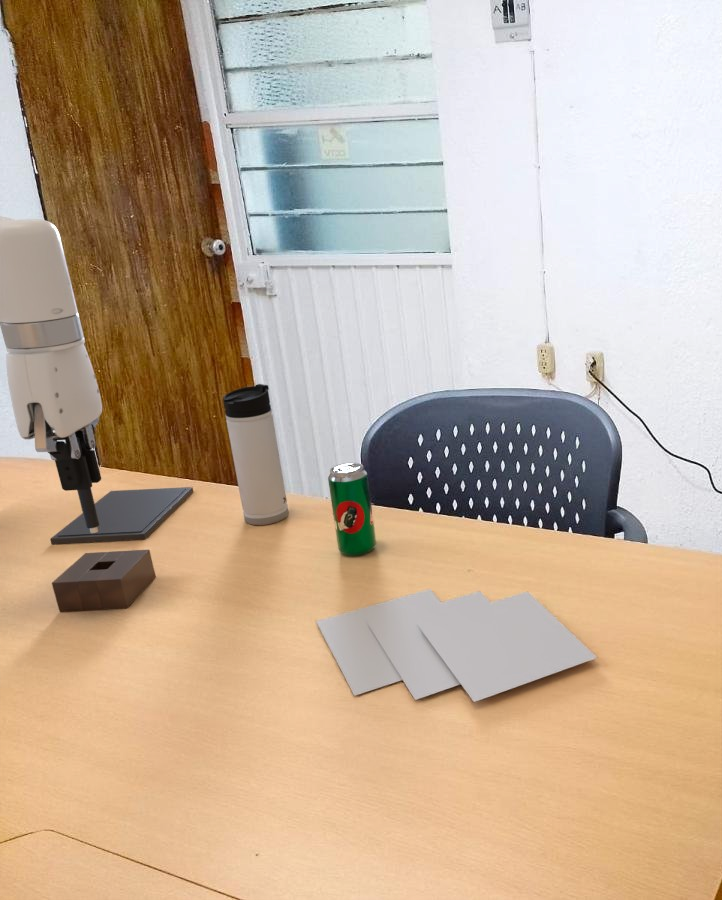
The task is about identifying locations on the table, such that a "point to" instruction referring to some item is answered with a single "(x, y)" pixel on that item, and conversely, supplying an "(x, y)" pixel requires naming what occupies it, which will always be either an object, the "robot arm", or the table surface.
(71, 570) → the holder
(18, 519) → the table surface
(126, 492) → the tablet
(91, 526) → the stylus
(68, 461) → the robot arm
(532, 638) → the paper stack
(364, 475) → the soda can
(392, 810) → the table surface
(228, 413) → the travel mug
